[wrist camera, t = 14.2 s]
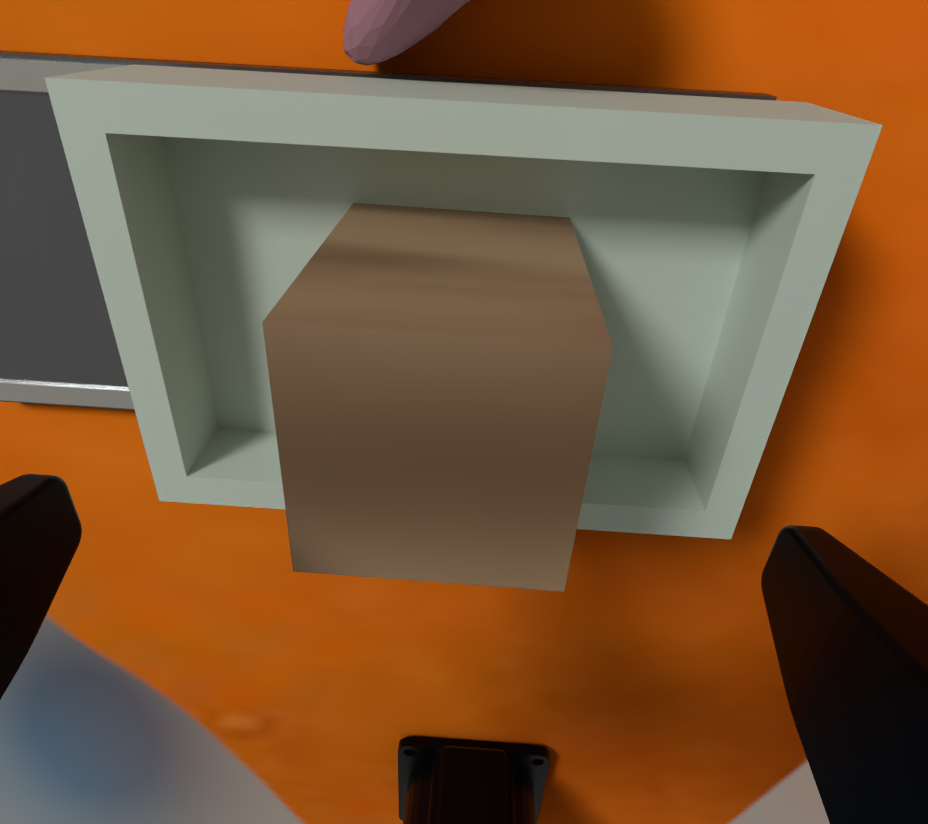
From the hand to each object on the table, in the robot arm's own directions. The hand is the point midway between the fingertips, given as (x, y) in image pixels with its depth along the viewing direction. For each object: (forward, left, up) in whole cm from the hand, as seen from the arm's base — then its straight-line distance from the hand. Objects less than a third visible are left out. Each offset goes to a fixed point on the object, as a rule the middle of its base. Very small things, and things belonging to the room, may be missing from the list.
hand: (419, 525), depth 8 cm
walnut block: (0, 0, -7) cm, 7 cm away
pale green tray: (0, 0, -10) cm, 10 cm away
